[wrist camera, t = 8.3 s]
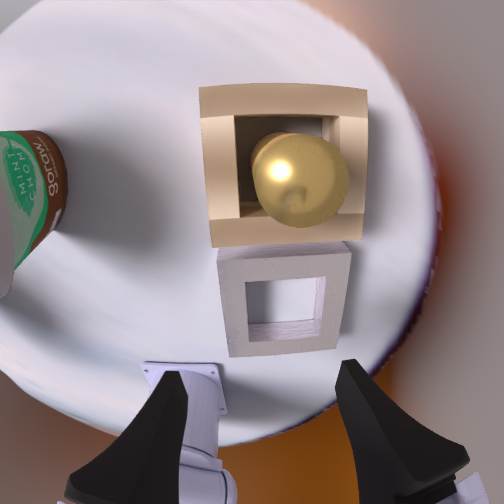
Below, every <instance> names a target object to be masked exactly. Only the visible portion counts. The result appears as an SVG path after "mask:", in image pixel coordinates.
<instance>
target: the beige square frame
mask: <svg viewBox="0 0 504 504" xmlns="http://www.w3.org/2000/svg"><path fill="white" fill-rule="evenodd" d="M199 102H200V119H201V134H202V148H203V161H204V173H205V184H206V195H207V205H208V215H209V225H210V234H211V243H212V248H218V247H236V246H253V245H271V244H290V243H309V242H328V241H348V240H362V231H363V222H364V211H365V198H366V183H367V161H368V102H367V90H365V89H358V88H350V87H341V86H331V85H318V84H299V83H251V84H232V85H219V86H208V87H199ZM249 117H320V118H322V139H324V140H326V141H328V142H329V143H331V144H332V145H333V146H334V147H335V148H336V149H337V150H338V151H339V152H340V153H341V155H342V157H343V158H344V160H345V163H346V165H347V168H348V173H349V188H348V193H347V196H346V198H345V201H344V203H343V204H342V206H341V207H340V209H339V210H338V211H337V212H336V214H334V215H333V216H332V217H331V218H330V219H328V220H327V221H325V222H323V223H321V224H319V225H316V226H313V227H307V228H295V227H290V226H286V225H284V224H281V223H279V222H278V221H276V220H275V219H273V218H272V217H271V216H270V215H269V214H268V213H267V212H266V211H265V210H264V208H263V207H262V205H261V204H260V202H259V201H241V202H240V192H239V175H238V158H237V140H236V122H235V118H249Z"/></svg>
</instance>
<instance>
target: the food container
mask: <svg viewBox="0 0 504 504" xmlns="http://www.w3.org/2000/svg"><path fill="white" fill-rule="evenodd" d="M67 193H68V184H67V171H66V167H65V163H64V160H63V157H62V154H61V152H60V150H59V148H58V147H57V145H56V144H55V142H54V141H53V140H52V139H51V138H50V137H49V136H47V135H46V134H44V133H42V132H40V131H34V130H29V131H0V299H1V298H2V297H4V296H6V295H7V293H8V292H9V290H10V287H11V284H12V281H13V274H14V271H15V269H16V268H17V267H18V266H19V265H20V264H21V263H22V262H23V260H24V259H25V258H26V257H27V256H28V255H29V254H30V253H31V252H32V251H33V250H34V249H35V248H36V247H37V246H38V245H39V244H40V243H41V242H42V241H43V240H44V239H45V238H46V237H47V236H48V235H49V234H50V233H51V232H52V231H53V230H54V228H55V227H56V226H57V225H58V223H59V222H60V219H61V217H62V215H63V212H64V210H65V207H66V200H67Z"/></svg>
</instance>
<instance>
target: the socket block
mask: <svg viewBox="0 0 504 504" xmlns="http://www.w3.org/2000/svg"><path fill="white" fill-rule="evenodd" d="M351 255H352V252H351V251H350V250H349V249H348V247H347V246H346V245H345V244H344V242H343V241H328V242H309V243H290V244H271V245H253V246H236V247H219V250H218V255H217V269H218V277H219V285H220V293H221V301H222V309H223V316H224V323H225V331H226V338H227V345H228V351H229V357H251V356H267V355H280V354H291V353H302V352H311V351H319V350H327V349H335V348H336V346H337V341H338V336H339V331H340V326H341V321H342V315H343V310H344V304H345V298H346V291H347V285H348V278H349V271H350V263H351ZM314 277H317V288H316V299H315V309H314V319H312V320H302V321H290V322H278V323H263V324H248V314H247V299H246V285H245V282H253V281H270V280H285V279H300V278H314Z"/></svg>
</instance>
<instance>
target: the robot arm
mask: <svg viewBox="0 0 504 504" xmlns="http://www.w3.org/2000/svg"><path fill="white" fill-rule="evenodd" d="M141 369H142V371H143V373H144V375H145V377H146V379H147V381H148V383H149V385H150V387H151V388H150V392H149V396H148V400H147V401H146V403H145V404H144V406H143V407H142V409H141V410H140V411H139V413H138V414H137V415H136V417H135V418H134V419H133V421H132V422H131V423H130V424H129V426H128V427H127V428H126V429H125V430H124V431H123V432H122V434H121V435H120V436H119V437H118V438H117V439H116V440H115V441H114V442H113V443H112V444H111V445H110V446H109V447H108V448H106V449H105V450H104V451H103V452H102V453H101V454H99V455H98V456H97V457H95V458H94V459H93V460H92V461H90V462H89V463H88V464H86V465H85V466H83V467H81V468H80V469H78V470H77V471H75V472H73V473H72V474H70V477H69V479H68V482H67V486H66V490H65V494H64V496H65V498H67V499H69V500H70V501H72V502H74V503H76V504H236V503H237V489H236V484H235V481H234V479H233V478H232V477H231V475H230V473H229V472H228V471H227V470H224V469H222V460H219V459H216V457H217V451H218V429H219V415H226V414H227V413H228V410H227V406H226V402H225V397H224V393H223V388H222V383H221V379H220V374H219V369H218V366H217V365H215V364H171V363H149V362H143V363H142V364H141ZM213 371H214V372H213ZM335 391H336V396H337V401H338V406H339V409H340V412H341V415H342V418H343V421H344V424H345V427H346V430H347V433H348V437H349V439H350V442H351V446H352V450H353V455H354V460H355V466H356V472H357V479H358V489H359V502H360V504H489V501H488V498H487V495H486V492H485V489H484V487H483V484H482V481H481V479H480V477H479V474H478V471H475V472H474V473H472V474H471V475H469V476H467V477H466V478H464V479H463V480H461V481H460V482H458V483H456V484H454V481H453V480H455V479H456V476H455V474H454V473H456V472H457V471H459V470H460V469H461V468H463V467H464V466H465V465H466V464H468V463H469V461H470V458H469V456H468V454H467V451H466V449H465V448H464V446H462V445H460V444H458V443H455V442H453V441H450V440H448V439H446V438H444V437H442V436H440V435H438V434H436V433H434V432H433V431H431V430H430V429H428V428H426V427H425V426H423V425H421V424H420V423H419V422H417V421H416V420H415V419H413V418H412V417H411V416H409V415H408V414H407V413H405V412H404V411H403V410H402V409H401V408H400V407H399V406H398V405H397V404H396V403H395V402H393V401H392V400H391V399H390V398H389V397H388V396H387V395H386V394H385V393H384V391H383V390H382V389H381V388H379V386H378V385H377V384H376V383H375V382H374V381H373V379H372V378H371V377H370V376H369V375H368V374H367V372H366V371H365V370H364V369H363V368H362V366H361V365H360V364H359V363H358V361H357V360H356V359H350V360H344V361H342V363H341V367H340V371H339V374H338V378H337V381H336V385H335ZM57 504H65V503H63V502H61V501H58V502H57Z"/></svg>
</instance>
